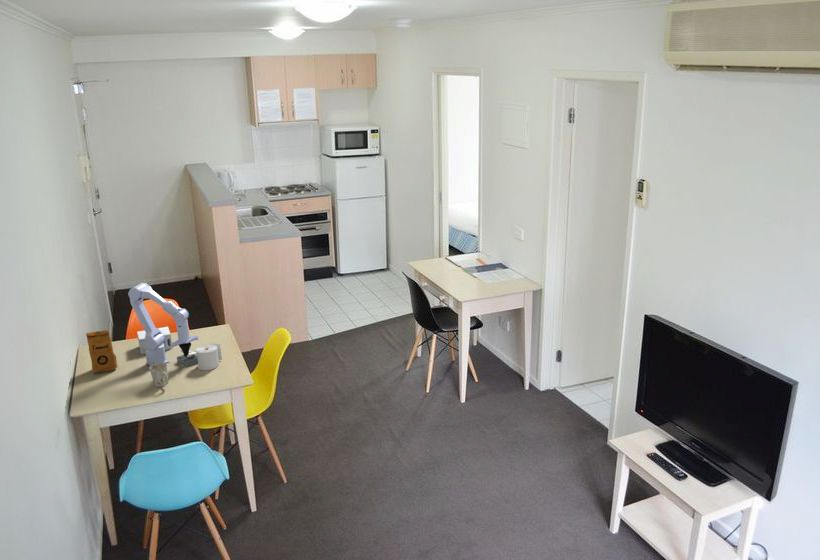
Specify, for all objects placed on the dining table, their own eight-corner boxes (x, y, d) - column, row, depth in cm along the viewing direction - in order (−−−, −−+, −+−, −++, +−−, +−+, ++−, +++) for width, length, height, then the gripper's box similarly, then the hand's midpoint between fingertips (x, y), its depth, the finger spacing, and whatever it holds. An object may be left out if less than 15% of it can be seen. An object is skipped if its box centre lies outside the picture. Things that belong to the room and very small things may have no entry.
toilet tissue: (194, 370, 344) (192, 352, 341) (204, 360, 355) (202, 343, 352) (214, 370, 343) (212, 353, 339) (223, 360, 354) (221, 343, 351)
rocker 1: (183, 353, 351) (184, 350, 351) (181, 351, 353) (181, 349, 353) (193, 354, 355) (194, 352, 355) (191, 352, 357) (191, 350, 357)
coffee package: (117, 371, 344) (110, 332, 337) (91, 375, 340) (83, 336, 333) (119, 364, 353) (112, 326, 346) (93, 367, 349) (86, 329, 342)
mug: (164, 378, 335) (161, 361, 332) (177, 385, 327) (175, 367, 324) (149, 385, 329) (146, 366, 325) (162, 392, 321) (159, 373, 318)
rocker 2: (187, 357, 348) (187, 355, 348) (184, 355, 350) (184, 353, 350) (197, 355, 352) (197, 352, 352) (195, 353, 354) (195, 351, 354)
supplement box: (141, 355, 364) (138, 339, 361) (139, 346, 375) (136, 331, 372) (173, 348, 371) (170, 333, 368) (170, 340, 382) (168, 325, 379)
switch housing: (185, 367, 347) (183, 358, 345) (177, 362, 354) (176, 353, 352) (204, 360, 354) (203, 352, 353) (196, 355, 361) (195, 347, 359)
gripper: (173, 337, 337) (176, 362, 342) (199, 330, 347) (202, 353, 351) (167, 334, 342) (170, 358, 347) (193, 326, 352) (196, 350, 356)
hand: (186, 355), depth 349 cm, fingers closed, pressing on rocker 2
